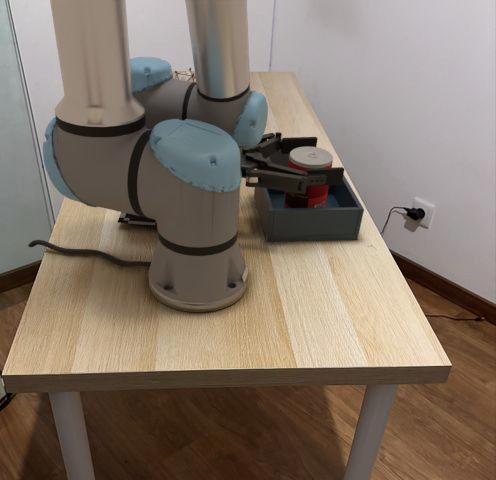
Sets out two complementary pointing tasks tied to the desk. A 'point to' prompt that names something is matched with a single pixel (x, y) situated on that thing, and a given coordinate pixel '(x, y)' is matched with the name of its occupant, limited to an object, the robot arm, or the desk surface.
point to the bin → (310, 216)
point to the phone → (279, 159)
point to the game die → (186, 76)
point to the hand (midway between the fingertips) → (328, 159)
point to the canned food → (302, 161)
